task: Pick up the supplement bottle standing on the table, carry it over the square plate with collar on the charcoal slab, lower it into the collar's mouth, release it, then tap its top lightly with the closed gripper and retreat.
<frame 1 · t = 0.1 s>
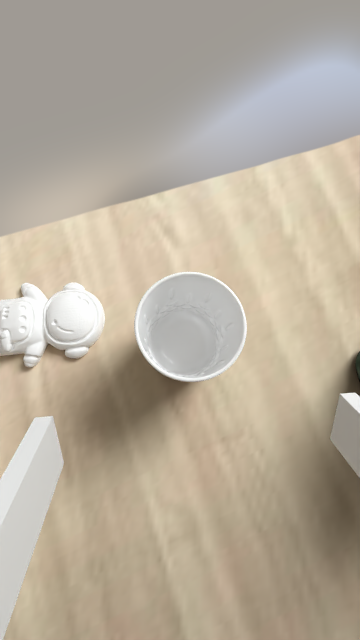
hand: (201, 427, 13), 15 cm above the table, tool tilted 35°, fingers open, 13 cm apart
white cup: (181, 346, 30), on the table
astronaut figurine: (45, 324, 30), on the table
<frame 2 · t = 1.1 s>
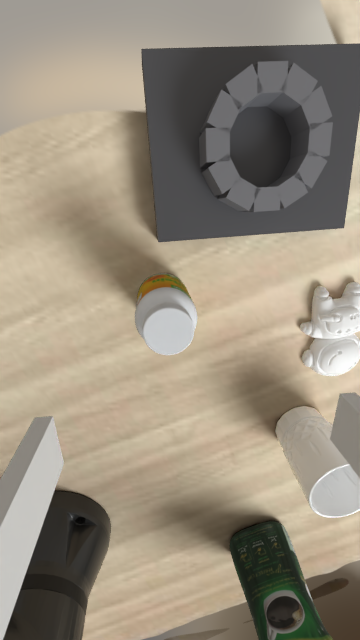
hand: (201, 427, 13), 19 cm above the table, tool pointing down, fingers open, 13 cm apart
square plate with collar: (246, 155, 27), on the table
supplement bottle: (162, 296, 31), on the table
white cup: (297, 424, 40), on the table
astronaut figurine: (331, 327, 35), on the table
coffee jar: (257, 536, 47), on the table
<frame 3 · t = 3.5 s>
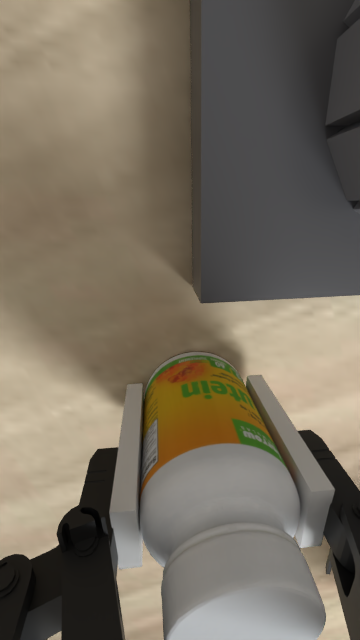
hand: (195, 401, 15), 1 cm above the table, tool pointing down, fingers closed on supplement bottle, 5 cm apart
supplement bottle: (193, 390, 16), on the table, touching gripper
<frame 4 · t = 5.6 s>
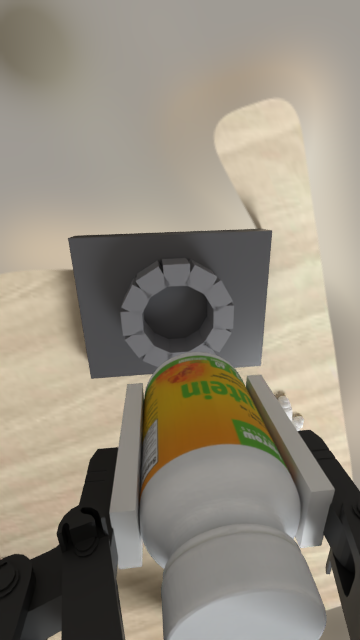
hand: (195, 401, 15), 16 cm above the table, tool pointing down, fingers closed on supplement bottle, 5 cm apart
square plate with collar: (173, 301, 30), on the table
supplement bottle: (193, 390, 16), point 15 cm above the table, touching gripper
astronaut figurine: (268, 429, 39), on the table
when the fingers open (6 cm above the table, at t = 7.7 s): supplement bottle drops 3 cm, resting on square plate with collar.
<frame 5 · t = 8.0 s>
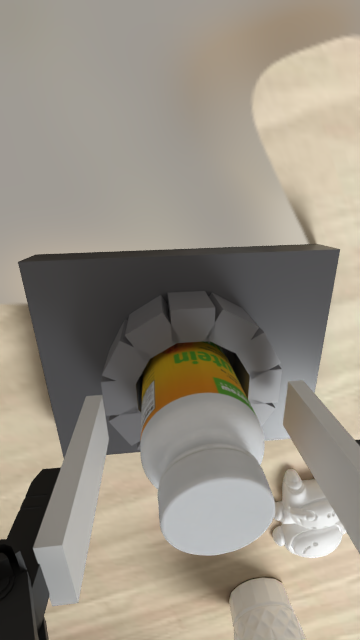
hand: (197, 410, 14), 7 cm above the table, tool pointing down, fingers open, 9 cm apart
square plate with collar: (183, 347, 21), on the table
supplement bottle: (184, 364, 19), point 2 cm above the table, touching square plate with collar
white cup: (256, 591, 34), on the table
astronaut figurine: (307, 501, 29), on the table
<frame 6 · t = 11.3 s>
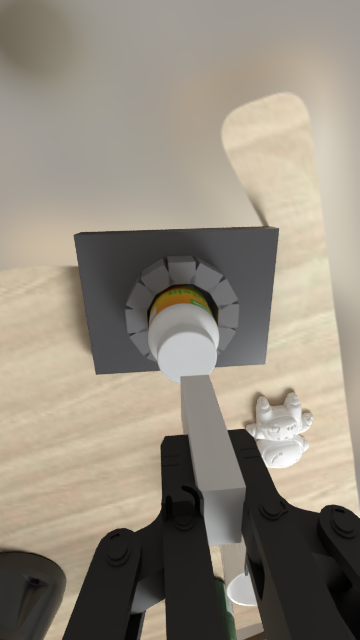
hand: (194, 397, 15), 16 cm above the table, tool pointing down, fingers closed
square plate with collar: (178, 299, 30), on the table
supplement bottle: (178, 307, 28), point 2 cm above the table, touching square plate with collar
white cup: (236, 504, 43), on the table
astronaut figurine: (276, 425, 39), on the table
coffee jar: (203, 590, 51), on the table
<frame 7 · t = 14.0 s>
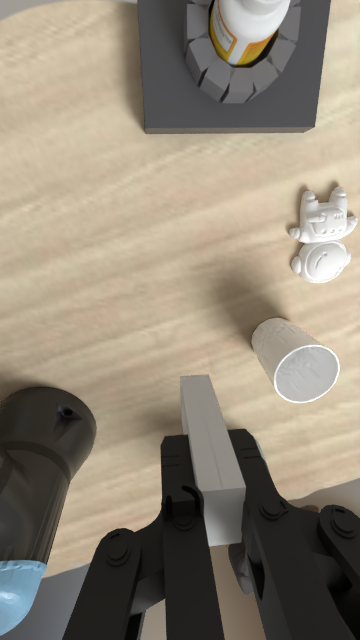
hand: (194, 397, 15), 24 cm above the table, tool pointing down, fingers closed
square plate with collar: (228, 54, 30), on the table
supplement bottle: (232, 42, 28), point 2 cm above the table, touching square plate with collar
white cup: (272, 337, 43), on the table
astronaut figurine: (319, 235, 38), on the table
coffee jar: (233, 452, 50), on the table
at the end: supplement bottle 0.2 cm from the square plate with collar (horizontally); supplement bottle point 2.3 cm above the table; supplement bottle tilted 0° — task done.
